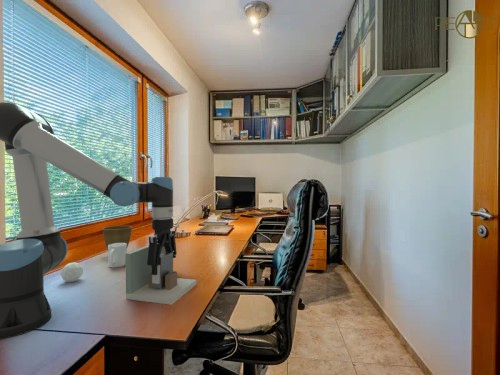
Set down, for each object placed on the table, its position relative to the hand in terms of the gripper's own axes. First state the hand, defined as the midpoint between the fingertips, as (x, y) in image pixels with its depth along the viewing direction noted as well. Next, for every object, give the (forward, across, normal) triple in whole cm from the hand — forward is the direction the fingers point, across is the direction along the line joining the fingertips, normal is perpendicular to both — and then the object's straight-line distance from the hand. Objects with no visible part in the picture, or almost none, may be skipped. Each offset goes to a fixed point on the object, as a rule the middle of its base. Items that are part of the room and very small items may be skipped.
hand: (163, 278), depth 99 cm
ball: (+5, 0, +43) cm, 43 cm away
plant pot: (+5, +38, +54) cm, 66 cm away
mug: (+5, +21, +40) cm, 45 cm away
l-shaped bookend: (+5, 0, 0) cm, 5 cm away
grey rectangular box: (+2, 0, 0) cm, 2 cm away
